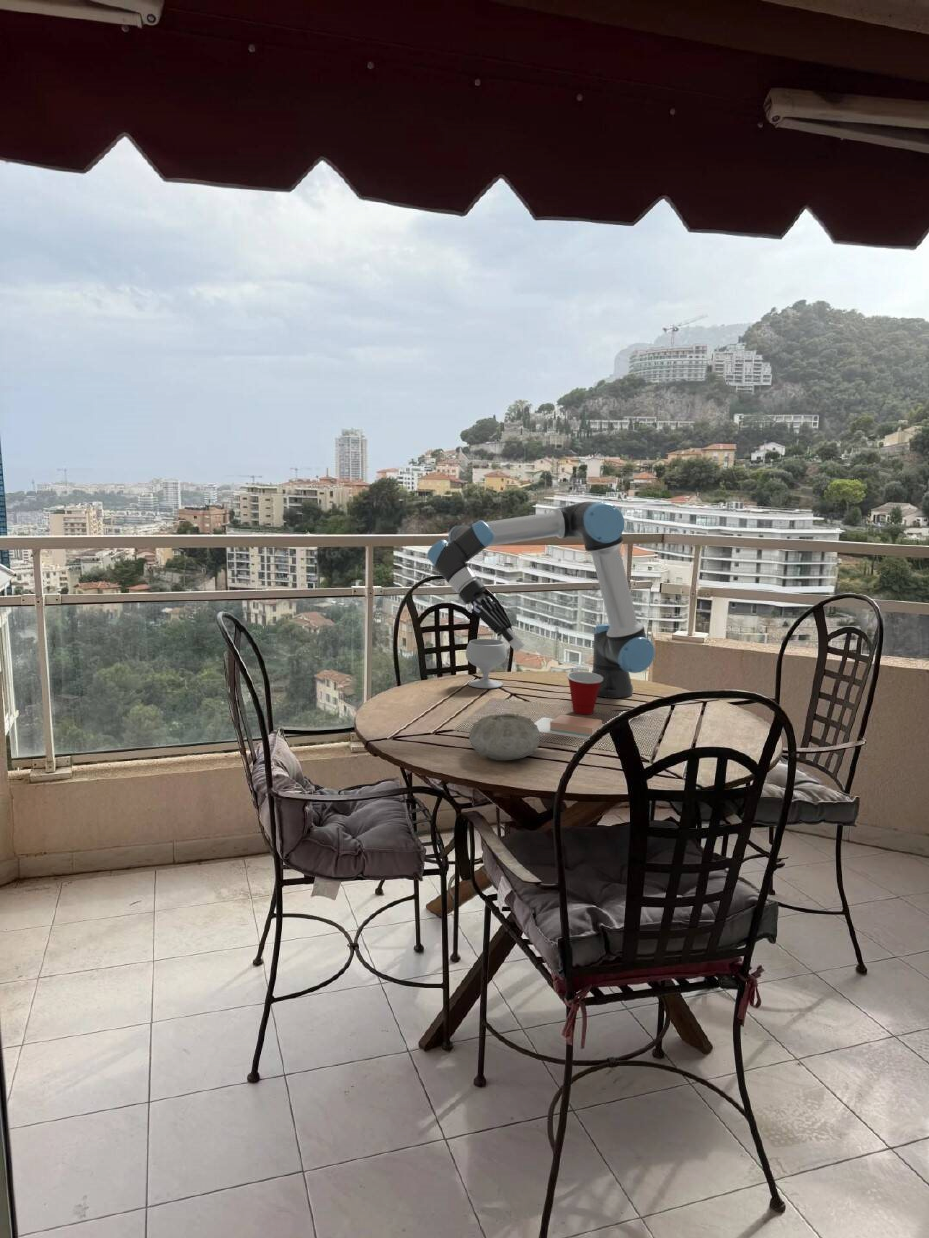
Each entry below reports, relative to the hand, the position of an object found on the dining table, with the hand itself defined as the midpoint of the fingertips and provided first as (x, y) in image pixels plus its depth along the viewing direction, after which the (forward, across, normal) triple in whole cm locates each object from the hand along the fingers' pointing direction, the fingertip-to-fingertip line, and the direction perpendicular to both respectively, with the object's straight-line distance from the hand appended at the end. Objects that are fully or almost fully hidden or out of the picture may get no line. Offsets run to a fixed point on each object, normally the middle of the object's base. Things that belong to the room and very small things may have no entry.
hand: (520, 648), depth 231 cm
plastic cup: (+25, -18, -6) cm, 31 cm away
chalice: (-4, -37, -35) cm, 51 cm away
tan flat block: (+22, 0, -6) cm, 23 cm away
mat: (+26, 0, -5) cm, 26 cm away
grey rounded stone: (+21, +28, -10) cm, 37 cm away
